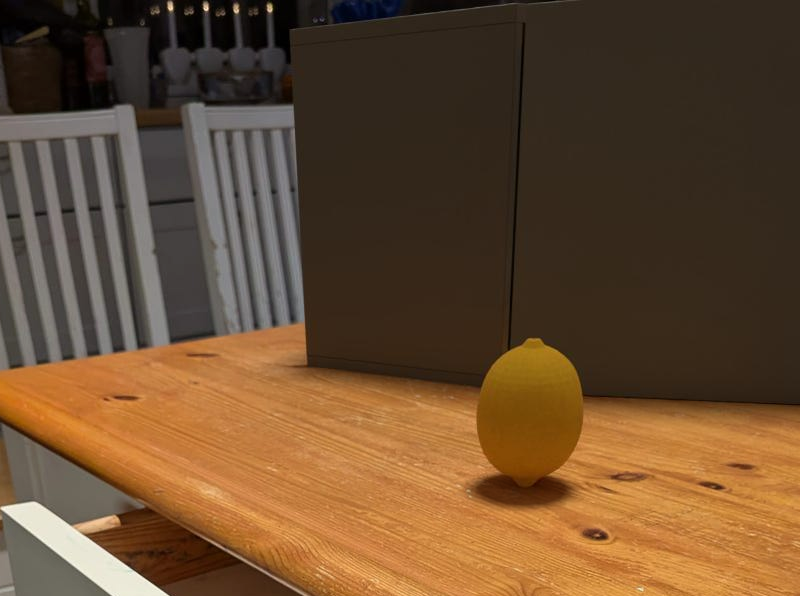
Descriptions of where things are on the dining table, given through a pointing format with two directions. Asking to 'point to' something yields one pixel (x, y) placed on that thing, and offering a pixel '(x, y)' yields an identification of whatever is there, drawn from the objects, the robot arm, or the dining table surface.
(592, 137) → the cupboard door
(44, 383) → the dining table surface
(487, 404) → the lemon
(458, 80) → the cupboard
